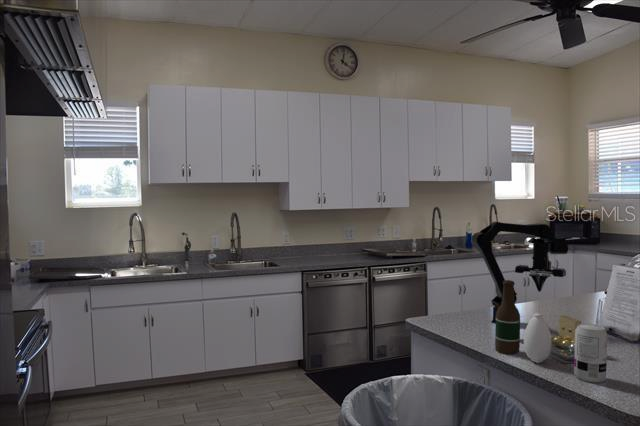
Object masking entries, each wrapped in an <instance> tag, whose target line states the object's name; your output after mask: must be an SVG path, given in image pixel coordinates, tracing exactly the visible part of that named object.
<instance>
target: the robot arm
mask: <svg viewBox="0 0 640 426" xmlns="http://www.w3.org/2000/svg"><path fill="white" fill-rule="evenodd" d="M551 230H552V229H551V227H550V226H549V225H548V224H544V223H538V222H537V223H529V224H521V223H520V224H519V223H508V222H501V221H492V222H491V223H490V224H489V225H488V226H486V227H484V228H483V229H481V230H480V231H479V232H475V233H473V235H472V236H471V242H472V244H473V246H474V247H475V248H476V250H477V251H478V252H479V253H480V254H481V256H482V258H483V260H484V263H485V265H486V267H487V270H488V272H489V274H490V276H491V278H492V280H493V283H494V284H495V285H494V286H495V293H496V296H494V297H493V299H491V305H492V306H493V308H492V320H491V323H493V324H494V323H495V324H496V312H497V310H498V308H499V307H500V305H501V304H502V298H503V287H504V284H503V281H505V280H506V279H505V277H504V274H503V272H502V270H501V268H500V266H499V263H498V262H497V261H498V260H497V259H496V257H495V254H494V253H493V243H492V241H493V239H494V238H496V237H497V235H498V234H499V233H500V232H505V233H514V234H515V233H516V234H525V235H529V236H531V238H530V239H529V240H527V242H528V243H529V244H532V256H531V258H532V266H531V267H529V265H528V264H525V265H524V264H519V265H516V266H515V268H514V273H516V274H523V273H524V272H525V273H526V272H527V273H529V274H528V276H529V277H531V279H532V281H533V282H534V284H535V287H536V289H537V292H539V293H541V291H542V289H543V288H544V284H545V283H546V280H547V279H548V278H550V277H552V276H553V277H558V278H564V277H566V276H567V270H566V269H565V268H558V267H555V268H552V261H550V259H549V253H550V254H551V255H566V254H568V252H569V244H568V242H567V241H566V240H567V239H566V237H555V235H554V234H553V232H552V231H551ZM551 275H552V276H551ZM517 295H518V293H517V292H516V290H515V289H514V301H515V303H516V302H517V300H518V299H517Z"/></svg>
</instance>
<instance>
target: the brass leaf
mask: <svg viewBox="0 0 640 426" xmlns="http://www.w3.org/2000/svg"><path fill="white" fill-rule="evenodd" d="M579 324H582V320H579V319H577V318H575V317H572V316H569V315H559V319H558V335H553V336H551V343H552V344H554V345H556V346H558V347H561V348H563V349H565V350H567V345H568V344H569V343H570V342H573V343H575V329H576V328H577V326H578V325H579Z"/></svg>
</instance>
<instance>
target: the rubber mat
mask: <svg viewBox="0 0 640 426" xmlns="http://www.w3.org/2000/svg"><path fill="white" fill-rule="evenodd" d="M520 344H522V345H524V338H520ZM552 350H565V349H563V348H561V347H558V346H556V345H554V344H552V343H551V350H550V353H549V355H548V357H549V358H551V359H553V360H555V361H557V362H559V363H561V364H563V365H572V364H574V360H573V361H564V360H562V359H560V358H558V357H556V356H554V355H552V354H551V351H552ZM548 357H547V358H548Z"/></svg>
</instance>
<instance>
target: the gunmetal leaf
mask: <svg viewBox="0 0 640 426" xmlns="http://www.w3.org/2000/svg"><path fill="white" fill-rule="evenodd" d="M551 354H552V355H554V356H556V357H558V358H560V359H562V360H564V361H573V360H574V358H575V343H573V342H570V343H569V344H568V345H567V350H552V351H551Z"/></svg>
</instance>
